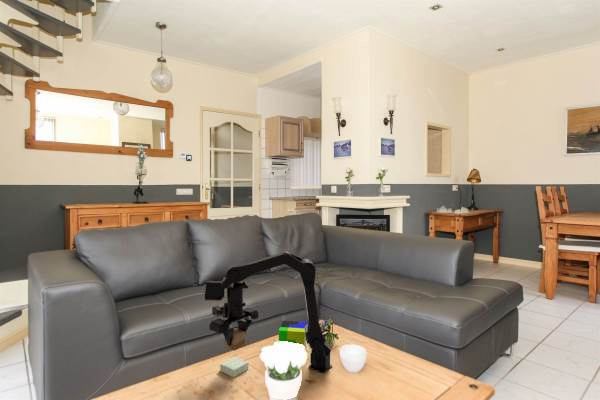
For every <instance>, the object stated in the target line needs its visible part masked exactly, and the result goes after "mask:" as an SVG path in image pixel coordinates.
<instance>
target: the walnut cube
mask: <svg viewBox="0 0 600 400" xmlns="http://www.w3.org/2000/svg"><path fill="white" fill-rule="evenodd" d="M233 329H234V333H233V338H232V343H231V346H228V345H227V342H226V339H225V338H224V347H225V348H228V349H230V350H232V351H237V350H238V349H240V348H243V347H244V346H246V333H245V332H244V331H241V330H239V329H238V328H236V327H234V328H233Z"/></svg>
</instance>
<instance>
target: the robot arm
mask: <svg viewBox="0 0 600 400" xmlns="http://www.w3.org/2000/svg"><path fill="white" fill-rule="evenodd" d="M282 265H285V266H288V267H289V268H291V269H292V270H294V271H296V272H297V273H299V276H300V280H301V282H302V286H303V290H304V299H305V307H306V308H305V309H306V315H307V326H304V328H305V332H306V334H305V338H306V345H309V348H310V349H311V352H310V358H309V359H310V361H309V362H310V363H309V365H308V368H309V369H311V370H314V371H316V372H319V373H321V374H324V373H326V371H328V370H329V369H331V368H332V367H333V364H331V351H332V350H331V348H330V344H328V342H327V340H326V339H325V338H324V337H323V334H324V333H323V334H322V331H321V328H320V321H319V319H320V318H319V312H318V306H317V298H316V290H315V289H316V288H315V282H316V273H317V271H316V267H315V265H314V263H313V262H312V260H310V259H308V258H302V257H300V256H297V255H295V254H293V253H291V252H289V251H287V250H283V251H282V252H279V253H276V254H273V255H272V254H271V255H270V256H266V257H263V258H260V259H256V260H253V261H248V262H246V261H245V262H244V261H243V262H241V261H240V262H236V263H235V262H234V263H232V264H230V266H229V267H228V269H227V272H226V275H225V276H224V277H223V278H222V280H216V281H215V280H207V281H206V282H205V290H204V301H205V302H206V301H207V302H209V301H211V302H213V301H218V302H219V301H220V302H221V301H223V300H224V298H225V299H226V301H225V302H224V303H223V305H219V304H218V305H214V306H212V308H211V313H212V316H216V318H217V319H214V320H212V321H210V322H209V330H210V331H213V332H215V333H217V334H222V335H223V336H224V340H225V339H226V342H227V345H228V346H231V343H232V338H233V333H234V329H235V328H233V327H232V324H235V323H237V325H238V326H237V327H238V328H237V329H239V330H241V331H244V332H245V334H246V333H247V331H248V329H249V327H250V325H251V324H252V323H253V320H257V319H259V311H258V310H257V309H255V308H251V307H249V306H248V307H246V304H247V303H246V302H244V289H249V287H250V285H249V283H248V282H247V281H246V279H249V277H250V276H253V275H254V274H257V273H260V272H264V271H267V270H270V269H272V268H276V267H280V266H282ZM244 307H245V308H244ZM218 317H222V318H225V319H221V318H218ZM251 319H252V320H251Z"/></svg>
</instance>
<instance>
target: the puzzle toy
mask: <svg viewBox="0 0 600 400" xmlns="http://www.w3.org/2000/svg"><path fill="white" fill-rule="evenodd" d="M304 326H308V321H294V320H282V321H281V324H280V326H279V329H278V342H279V341H288V342H293V343H299V344H303V345H304V346H305V348H306V347H307V341H306V338H305V334H306V332H305V328H304Z"/></svg>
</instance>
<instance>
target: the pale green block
mask: <svg viewBox="0 0 600 400" xmlns="http://www.w3.org/2000/svg"><path fill="white" fill-rule="evenodd" d="M247 370H249V362H248V361H246V360H245V359H241V358H239V357H238V356H233V357H230V358H229V359H227V360H224V361H222V362H221V363H220V366H219V371H220V372H222V373H224V374H226V375H228V376H230V377H232V378H235V377H238V376H239V375H240V374H242V373H244V372H246V371H247Z"/></svg>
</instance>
